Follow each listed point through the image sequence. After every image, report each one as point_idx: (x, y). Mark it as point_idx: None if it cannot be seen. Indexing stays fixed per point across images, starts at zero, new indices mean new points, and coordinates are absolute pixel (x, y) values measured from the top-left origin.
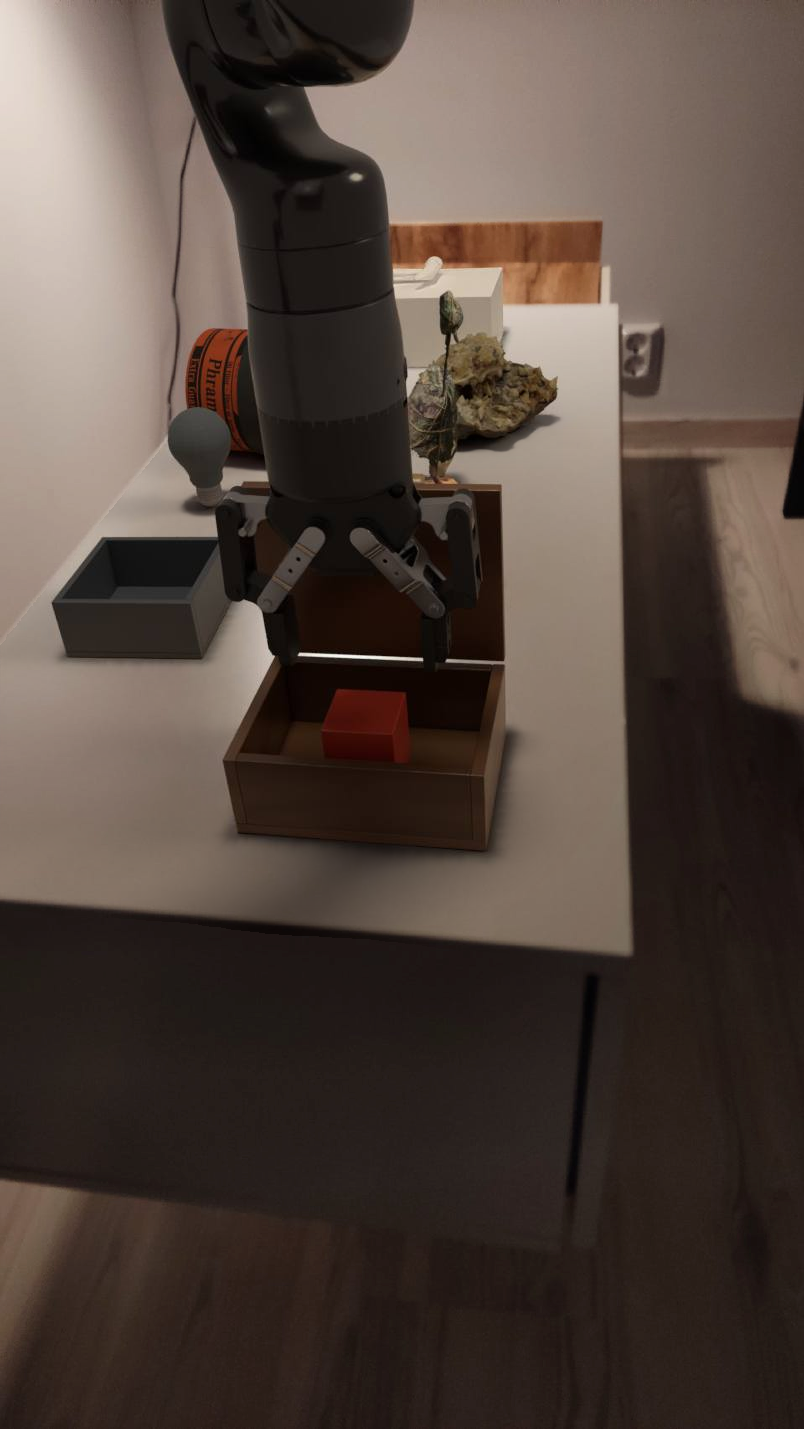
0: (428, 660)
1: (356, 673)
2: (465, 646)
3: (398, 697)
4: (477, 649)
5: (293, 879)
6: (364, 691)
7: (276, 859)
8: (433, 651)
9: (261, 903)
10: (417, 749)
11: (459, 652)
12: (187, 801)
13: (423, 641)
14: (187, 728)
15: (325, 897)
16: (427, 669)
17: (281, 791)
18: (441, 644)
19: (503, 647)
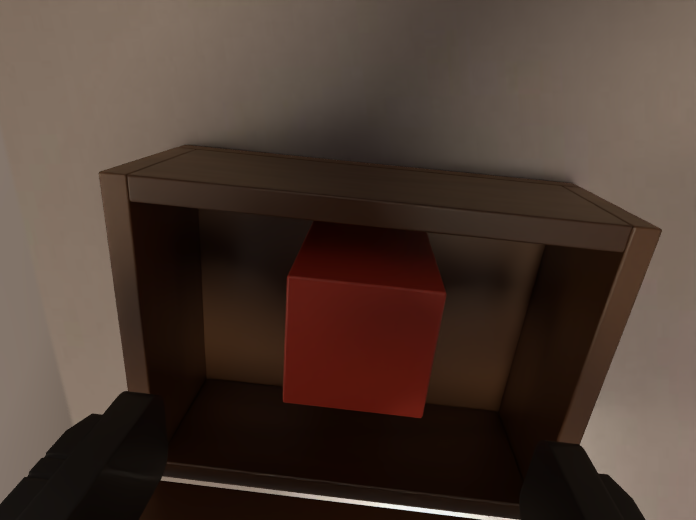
0: (120, 416)
1: (397, 474)
2: (184, 510)
3: (293, 387)
4: (165, 502)
5: (474, 74)
6: (365, 408)
7: (505, 122)
8: (84, 439)
9: (525, 11)
10: None
11: (202, 499)
12: (658, 255)
13: (90, 473)
14: (658, 410)
15: (418, 31)
16: (142, 395)
17: (514, 197)
18: (55, 464)
19: None
